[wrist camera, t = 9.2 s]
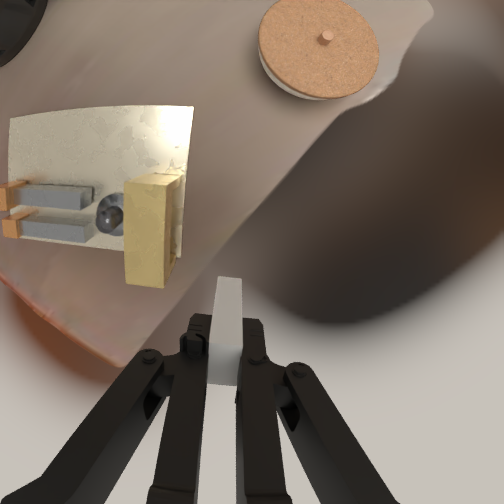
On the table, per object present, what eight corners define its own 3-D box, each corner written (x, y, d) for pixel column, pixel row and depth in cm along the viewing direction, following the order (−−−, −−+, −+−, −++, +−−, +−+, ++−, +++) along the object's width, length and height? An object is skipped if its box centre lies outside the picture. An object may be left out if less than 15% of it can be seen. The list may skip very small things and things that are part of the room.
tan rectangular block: (180, 175, 29) (166, 185, 23) (175, 262, 33) (163, 288, 27) (145, 173, 29) (124, 182, 23) (143, 258, 33) (125, 283, 27)
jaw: (91, 184, 29) (73, 191, 25) (91, 207, 30) (73, 218, 26) (12, 180, 27) (-9, 187, 23) (12, 200, 28) (-7, 209, 24)
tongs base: (194, 107, 27) (188, 103, 24) (181, 255, 34) (174, 270, 30) (12, 118, 25) (-6, 119, 21) (15, 235, 31) (-1, 245, 28)
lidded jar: (310, 126, 29) (338, 122, 20) (233, 64, 26) (230, 36, 17) (367, 65, 26) (408, 46, 17) (295, 6, 23) (314, -33, 14)
